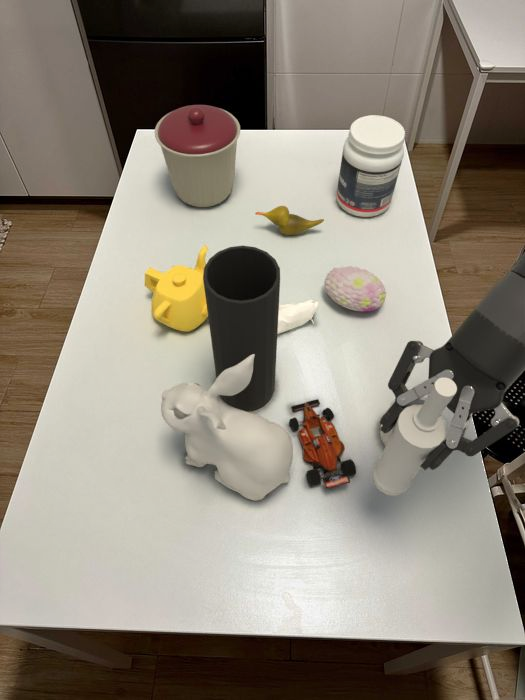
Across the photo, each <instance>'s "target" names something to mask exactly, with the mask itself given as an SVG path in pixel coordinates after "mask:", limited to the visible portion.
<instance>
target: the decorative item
mask: <svg viewBox="0 0 525 700" xmlns="http://www.w3.org/2000/svg"><path fill="white" fill-rule="evenodd" d="M323 283H324V284H323V285H324V291H325V293H326V294H327V295H328V296H329V298H331V300H333V301H334V302H335V303H336V304H337V305H339V306H341V307H343V308H345V309H348V310H351V311H355V312H361V313H362V312H371V311H375V310H377V309H379V308H380V307H382V305H383V304H384V303H385V300H386V298H387V291H386V287H385V285H384V283H383V281H382V280H381V278H379V277H378V276H377V275H375V274H374V273H372V272H370V271H368V270H367V269H365V268H364V269H363V268H360V267H358V266H349V265H348V266H341V267H333V268H332V269H331V270H330V271H329V272H327V273H326V276H325V278H324V282H323Z"/></svg>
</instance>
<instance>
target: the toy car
mask: <svg viewBox="0 0 525 700" xmlns="http://www.w3.org/2000/svg"><path fill="white" fill-rule="evenodd" d="M319 405H321V402H320V400H319V399H318V398H317V399H312V400H309V401H307V402H303V403H299V404H295V405H292V406H291V410H292V412H298V411H301V410H303V415H304V420H302V421H300V422H299V421H298V419H297V417H292V418H289V426H290V428H291V430H292V431H294V432H296V431H298V432H297V434H298V438H299V442H300V444H301V446H302V449H303V450H302V456H303V459H304V461H306V462H308V463H311V465H312V469H309V470H307V471H306V479H307V483H308V484H309V486H310V487H313V486H318V485H321V484H322V482H323V485H324V488H325V490H328V489H331V488H335V487H338V486H339V487H340V486H342V485H346V484H350V483H351V480H350V478H349V477H351V476H355V475H356V474H357V467H356V464H355V462H354V461H353V460H352V459H350V458H349V459H346V460H342V459H341V458H340V455H341V454H342V453H343V452H345V449H346V447H345V444H344V442H342V440H340V438H339V433H338V431H337V429H336V427H335V425H334V423H333V422H332V421H331V420H333V419H334V418H335V414H334V412H333V411H332V409H331V408H330V407H326V408H324V409H323V410H322V414H323V415H322V416H321V415H320V414H319V413H318V414H317V413H316V411H315V410H314V409H313V408H312V407H316V406H319ZM320 416H321V417H320ZM326 420H327V421H326ZM299 423H301V427H304V428H302V429H300V424H299ZM299 429H300V430H299ZM338 462H339V464H340V465H339V466H340V468H341V469H339V467H338ZM320 467H323V468H324V469H325V471H324V472H323V474H321V468H320Z"/></svg>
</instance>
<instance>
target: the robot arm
mask: <svg viewBox="0 0 525 700" xmlns="http://www.w3.org/2000/svg"><path fill="white" fill-rule="evenodd" d="M425 359H428V377H427V378H428V379H426V380H423V382H421V383H419V384H417V385H415V386H413V387H412V388H410V389H408V387H407V386H406V384H407V382H408V380H409V378H410V376H411V375H412V373H413V370H414V368H415V367H416V365H417V364H422V363H423V362H424V361H425ZM524 372H525V251H524V252H523V253H522V254H521V256H520V257H519V258H518V259H517V260H516V262H514V264H512V266H511V268H510V270H507V272H506V273H505V274H504V275H503V276H502V277H501V278H500V279H499V280H498V281H497V282H496V283H495V284H494V285H493V286H492V287H491V288H490V289H489V290H488V292H487V293H486V294H484V296H483V297H482V299H480V301H479V303H477V304H476V306H475V307H474V308H473V309H472V311H471V312H470V313H469V314H468V316H467V317H466V319H465V320H463V322H462V323H461V324H460V326H459V327H458V328H457V329H456V330H455V331H454V333H453V334H452V335H451V336H450V338H449V339H448V340H447V341H446V342H445V344H443V345H442V346H441V347H437V348H436V349H433V348H431V347H428V346H426V345H424V343H423V342H422V341H420V340H409V341H408V342H407V343H406V345H405V347H404V349H403V352H402V353H401V356H400V358H399V359H398V361H397V364H396V366H395V368H394V370H393V371H392V373H391V374H392V375H391V376H390V378H389V380H388V383H387V387H388V389H389V390H390V391H392V393H393V395H394V397H395V399H394V400H395V402H394V403H393V405H392V406H391V407H390V408H389V407H388V408H389V409H388V408H387V411H386V412H385V413H383V415H382V416H381V418H380V421H379V423H380V425H381V424H382V425H383V426H382V427H381V426H380V427H381V428H379V431H380V430H381V431H382V432H383V433H384V434H386V433H388V432H389V431H391V430H392V428H393V427H394V426H395V424H396V422H397V420H398V417H399V415H400V413H401V412H402V411H403V410H404V409H405V408H406V407H408V406H409V405H410V404H411V403H413V402H414V401H416V400H418V399H420V398H422V397H424V398H425V397H426V396H428V395H429V394H430V391H431V389H432V387H433V385H434V384H435V382H436V381H437V380H438V379H439V378H449V379H451V380H452V381H454V383H455V384H456V387H457V391H456V393H455V395H454V396H453V398H452V399H451V401H450V402H449V403H448V404H447V406H446V408H447V409H448V410H449V411H450V412H451V413H452V414H453V417H452V420H451V423H450V428H449V431H448V434H447V437H446V438H445V439H444V440H443V441H442V442H441V443H440V444H439V446H437V447H436V448H435V450H434V451H433V452H432V453H431V454H430V455H429V456H428V457H427V459H426V460H425V461H424V462H423V463H422V464H421V465H420V467H422V468H421V469H422V470H424V471H427V470H428V469H430V470H431V471H434V470H436V469H438V468H439V467H440V466H442V464H443V463H444V462H445V461H446V460H447V459H448V457H449V456H450V455H451V454H452V453H453V452H455V451H458V452H461V453H464V454H465V456H467V457H469V458H470V457H474V456H477V454H479V453H481V452H482V451H484V450H485V449H487V448H488V447H489V446H491V445H493V444H495V443H496V442H497V441H499V440H501V439H502V438H504V437H505V436H507V435H509V433H512V431H514V430H516V429H517V428H518V426H519V425H520V419H519V417H518V416H516V415H513V413H511V411H510V410H509V409H508V408H507V406H506V405H505V404H504V403H503V402H504V397H505V394H506V392H507V390H508V389H509V388H510V387H511V386H512V385H513V383H515V382H516V380H518V378H519V377H520V376H521V375H522V374H523V373H524ZM489 410H493V411H494V415H493V417H492V418H491V419H490V424H491V426H492V427H491V428H489V429H488V430H486V431H485V432H483V433H482V434H480V435H479V436H477V437H476V438H474V439H473V440H472V439H469V438H466V437H465V435H466V432H467V429H468V426H469V424H470V423H471V420H472V417H473V414H474V413H480V412H485V411H489Z"/></svg>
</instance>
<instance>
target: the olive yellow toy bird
mask: <svg viewBox="0 0 525 700" xmlns="http://www.w3.org/2000/svg"><path fill="white" fill-rule="evenodd" d="M255 215H257V216H258V215H259V216H263V217H265V218H266V219H268V220H269V221H270V222H271V223H273V224H274V225H276V226H277V228H278V230H279V232H280V233H281V234H283V235H286V236H293V235H298V234H302V233H304V232H306V231H308V230H310V229H312V228H314V227H316V226H318V225H320V224H322V223H323V222H324V221H325V219H324V218H320V219H317V220H316V219H315V220H310V219H307V218H304V217H302V216H300V215H298V214H293V213H290V210H289V208H288V206H286V205H279V206H277V207H275V208H273V209H271V210H269V211H267V212H264V211H263V212H262V211H256V212H255Z"/></svg>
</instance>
